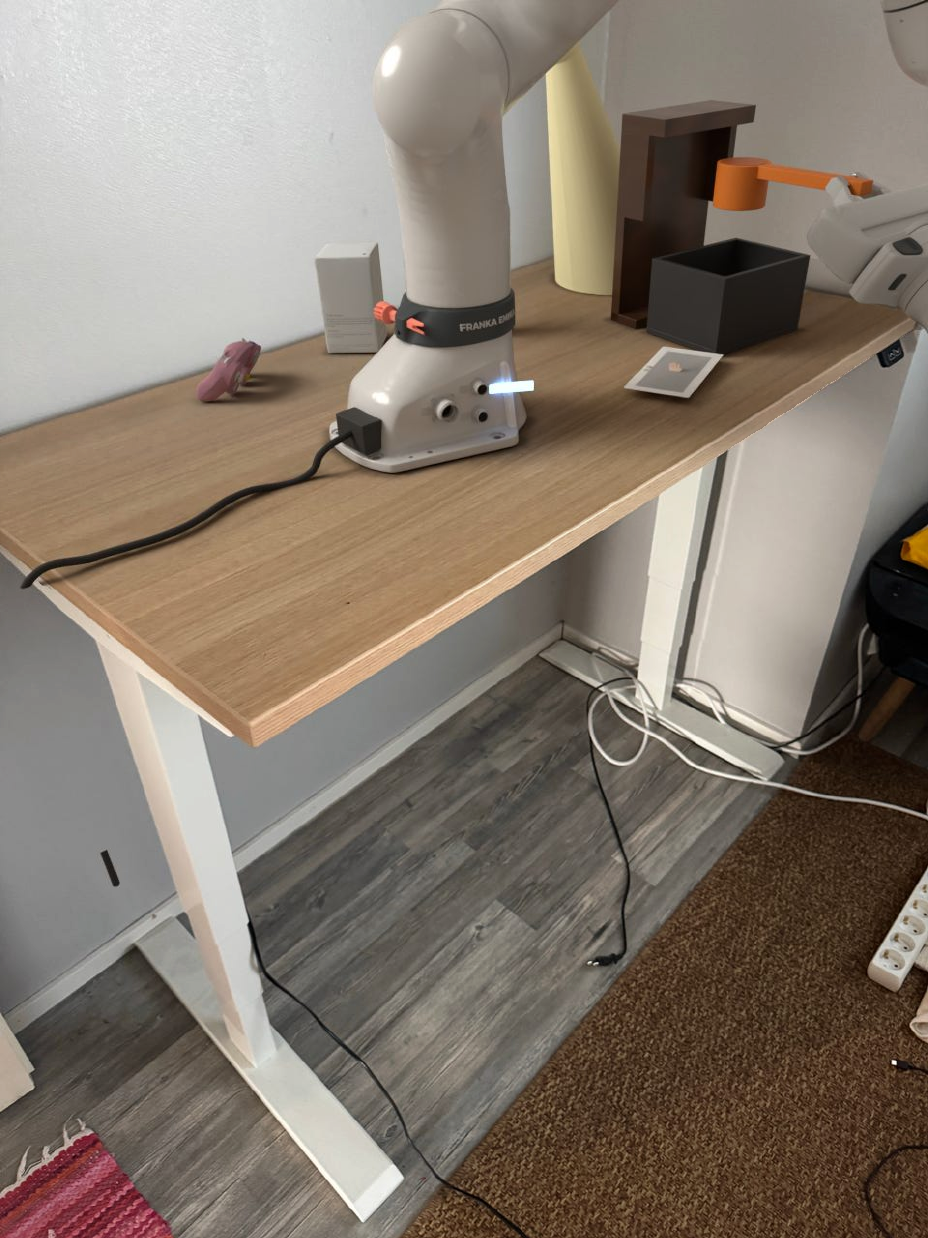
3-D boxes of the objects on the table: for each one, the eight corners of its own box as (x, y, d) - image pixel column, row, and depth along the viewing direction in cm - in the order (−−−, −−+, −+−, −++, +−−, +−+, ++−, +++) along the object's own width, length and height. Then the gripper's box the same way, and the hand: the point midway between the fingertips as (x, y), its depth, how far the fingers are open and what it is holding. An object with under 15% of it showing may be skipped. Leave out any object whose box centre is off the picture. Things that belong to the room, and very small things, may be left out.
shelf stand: (648, 333, 125) (666, 119, 110) (610, 319, 130) (622, 113, 115) (729, 308, 132) (756, 104, 117) (689, 297, 137) (710, 99, 122)
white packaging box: (388, 335, 128) (380, 240, 121) (379, 354, 122) (370, 255, 115) (337, 335, 129) (325, 241, 122) (325, 354, 123) (312, 256, 116)
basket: (715, 357, 117) (725, 278, 111) (646, 332, 125) (652, 258, 120) (797, 330, 124) (811, 254, 118) (726, 308, 132) (736, 237, 127)
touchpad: (722, 363, 115) (724, 346, 114) (687, 406, 105) (689, 388, 103) (662, 354, 118) (663, 338, 117) (622, 396, 108) (623, 378, 106)
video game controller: (225, 416, 111) (240, 367, 107) (191, 399, 111) (204, 349, 106) (256, 385, 119) (271, 339, 115) (224, 369, 118) (238, 321, 114)
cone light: (607, 256, 157) (620, 12, 137) (693, 276, 146) (721, 14, 125) (502, 287, 145) (499, 25, 124) (587, 312, 133) (599, 27, 113)
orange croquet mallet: (840, 234, 102) (849, 184, 99) (701, 205, 116) (706, 161, 113) (875, 224, 105) (886, 176, 102) (736, 197, 119) (741, 154, 116)
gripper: (999, 223, 101) (916, 141, 105) (884, 258, 92) (798, 167, 96) (958, 268, 106) (881, 189, 110) (846, 305, 97) (767, 218, 101)
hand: (842, 179), depth 103 cm, fingers closed on orange croquet mallet
